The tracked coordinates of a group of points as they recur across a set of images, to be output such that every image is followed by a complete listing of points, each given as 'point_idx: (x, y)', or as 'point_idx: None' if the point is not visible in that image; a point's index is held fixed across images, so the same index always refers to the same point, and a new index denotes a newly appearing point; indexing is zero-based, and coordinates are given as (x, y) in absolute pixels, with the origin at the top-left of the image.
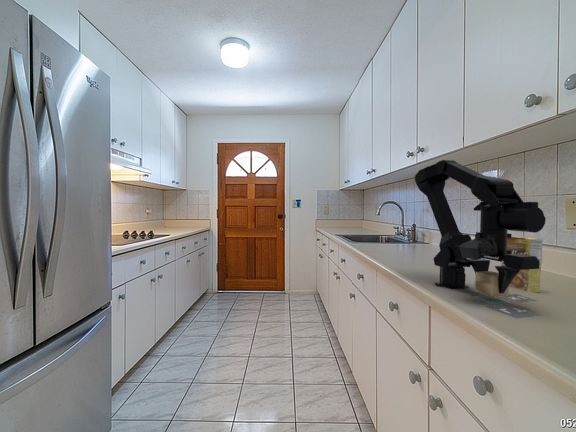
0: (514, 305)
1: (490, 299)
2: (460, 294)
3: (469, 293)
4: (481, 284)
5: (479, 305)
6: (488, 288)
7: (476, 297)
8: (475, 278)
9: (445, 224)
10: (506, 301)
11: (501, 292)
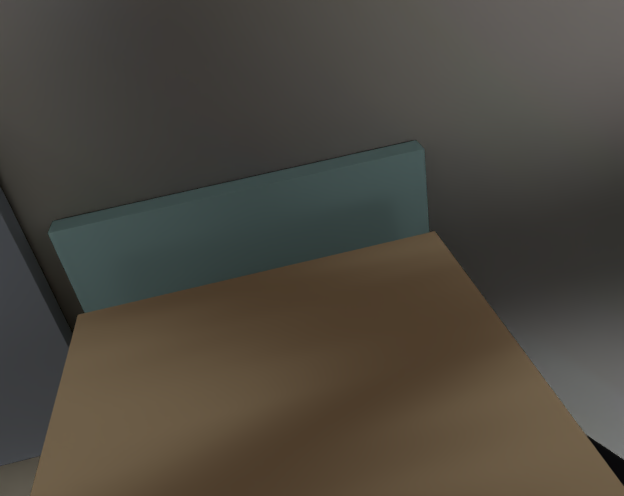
0: (34, 449)
1: None
2: (616, 91)
3: (607, 248)
4: (342, 367)
5: (47, 20)
6: (160, 382)
7: (379, 196)
8: (556, 400)
9: None
10: None
11: None
